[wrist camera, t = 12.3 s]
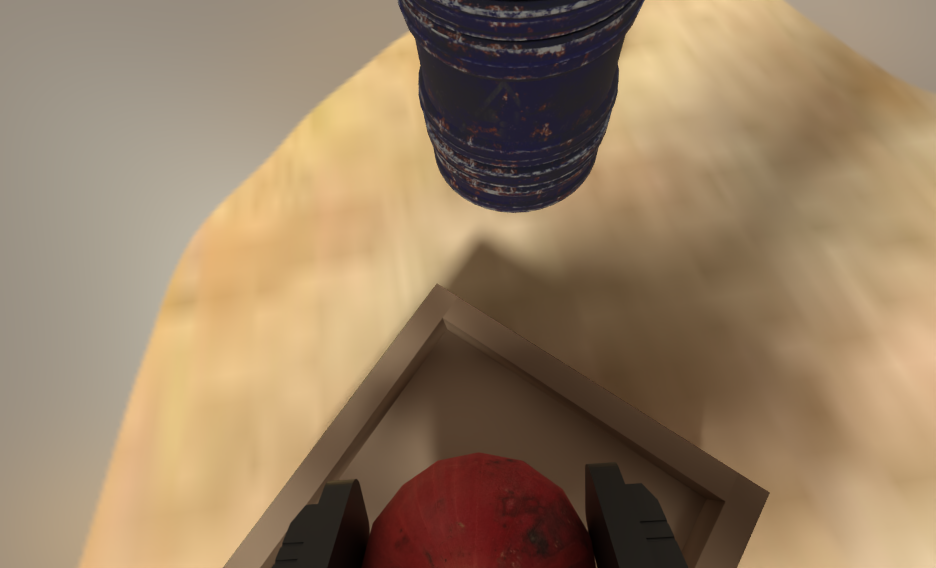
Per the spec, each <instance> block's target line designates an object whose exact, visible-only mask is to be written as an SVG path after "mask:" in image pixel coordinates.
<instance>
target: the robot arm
mask: <svg viewBox="0 0 936 568" xmlns="http://www.w3.org/2000/svg"><path fill="white" fill-rule="evenodd" d="M585 513H586V522H587V528H588V533H589V535H590V537H591V540H592V546H593V552H594V556H595V560H596V564H597V568H688V565H687V563H686V561H685V559H684V557H683V554H682V552H681V550H680V548H679V545H678V543H677V541H675V538H674V534H673V532H672V530H671V528H670V525H669V524H668V523H667V519H666V517H665V514H664V512H663V510H662V508H661V505H660V503H659V501H658V499H657V498H656V497H655V496H654V495H653V494H652V493H651V492H650V491H649V490H648V489H647V488H646V487H645V486H644V485H643V484H642V483H635V484H625V482H624V479H623V477H622V474H621V472H620V469H619V467H618V465H617V463H616V462H607V463H592V464H586V465H585ZM369 536H370V526H369V520H368V516H367V511H366V507H365V503H364V499H363V495H362V491H361V487H360V483H359V481H358V480H357V479H350V480H336V481H328V482H327V483H326V484H325V486H324V489H323V491H322V494H321V497H320V500H319V502H318V504H309V505H305V506H304V508H303V509H302V510H301V511H300V512H299V513H298V515H297V516H296V517H295V518H294V519H293V520H292V522H291V523H290V525H289V528H288V530H287V532H286V535H285V537H284V540H283V542H282V547H280V549H279V552H278V554H277V557H276V559H275V564H273V566H272V568H361V566H362V562H363V558H364V554H365V551H366V547H367V543H368V539H369Z"/></svg>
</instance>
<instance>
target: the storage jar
mask: <svg viewBox="0 0 936 568" xmlns="http://www.w3.org/2000/svg"><path fill="white" fill-rule="evenodd" d="M643 2H644V0H398V5H399V7H400V9H401V12H402V14H403V16H404V19H405V21H406V24H407V26H408V28H409V30H410V32H411V33H412V35H413V36H414V38H415V40H416V45H417V50H418V55H419V60H420V65H421V66H420V70H419V99H420V105H421V108H422V110H423V113H424V118H425V122H426V127H427V132H428V135H429V137H430V140H431V142H432V145H433V147H434V153H435V158H436V163H437V165H438V168H439V170H440V173H441V174H442V176H443V177H444V179H445V181H446V182H447V183H448V184H449V185H450V187H451V188H452V189H453V190H454V191H455V192H457V193H458V194H459V195H460V196H462V197H463V198H464V199H466V200H468V201H470V202H472V203H473V204H475V205H478V206H481V207H483V208H486V209H490V210H495V211H499V212H511V213H516V212H529V211H534V210H539V209H542V208H545V207H548V206H551V205H554V204H556V203H557V202H559V201H561V200H563V199H565V198H566V197H568V196H569V195H570V194H572V193H573V192H575V191H576V190H577V189H578V188H579V186H580V185H581V184H582V183H583V182H584V181H585V179H586V178H587V177H588V175H589V174H590V172H591V169H592V167H593V165H594V163H595V159H596V155H597V151H598V147H599V145H600V144H601V141H602V139H603V137H604V135H605V133H606V129H607V126H608V122H609V119H610V115H611V111H612V108H613V106H614V104H615V100H616V96H617V92H618V79H619V68H618V60H619V56H620V52H621V49H622V45H623V41H624V38H625V34H626V33H627V32H628V30H629V29H630V28H631V26H632V25H633V23H634V21H635V19H636V17H637V15H638V12H639V11H640V9H641V7H642V4H643Z"/></svg>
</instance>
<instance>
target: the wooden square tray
mask: <svg viewBox="0 0 936 568" xmlns="http://www.w3.org/2000/svg"><path fill="white" fill-rule="evenodd" d="M478 452H480V453H485V454H491V455H496V456H501V457H507V458H512V459H517V460H522V461H524V462H526V463H527V464H529V465H530V466H531V467H533V468H534V469H535V470H537V471H538V472H540V473H541V474H542V475H544V476H545V477H547V478H548V479H549V480H551V481H552V482H553V483H555V484H556V485H558V486H559V487H560V488H562V489H563V490H564V492H565V494H566V495H567V497H568V499H569V500H570V502H571V504H572V505H573V507H574V509H575V510H576V512H577V514H578V516H579V517H580V519H581V521H582V522H583V524H584V526H585V527H586V529H587V531H588V528H587V522H586V513H585V465H586V464H592V463H607V462H616V463H617V465H618V467H619V469H620V472H621V474H622V477H623V479H624V482H625V484H635V483H642V484H643V485H644V486H645V487H646V488H647V489H648V490H649V491H650V492H651V493H652V494H653V495H654V496H655V497H656V498H657V499H658V501H659V503H660V505H661V508H662V510H663V512H664V514H665V517H666V519H667V523H668V524H669V525H670V528H671V530H672V532H673V534H674V538H675V541H677V543H678V545H679V548H680V550H681V552H682V554H683V557H684V559H685V561H686V563H687V565H688V568H737V566H738V564H739V562H740V559H741V557H742V555H743V553H744V550H745V548H746V546H747V543H748V541H749V539H750V537H751V534H752V532H753V530H754V527H755V525H756V523H757V521H758V518H759V516H760V514H761V512H762V509H763V507H764V505H765V502H766V500H767V498H768V496H769V492H768V491H766V490H765V489H763V488H761V487H760V486H758V485H757V484H755V483H753V482H752V481H750V480H749V479H747V478H746V477H744V476H742V475H741V474H739V473H738V472H736V471H734V470H733V469H731V468H730V467H728V466H726V465H725V464H723V463H722V462H720V461H718V460H717V459H715V458H714V457H712V456H711V455H709V454H707V453H706V452H704V451H703V450H701V449H699V448H698V447H696V446H695V445H693V444H691V443H690V442H688V441H687V440H685V439H683V438H682V437H680V436H679V435H677V434H676V433H674V432H672V431H671V430H669V429H668V428H666V427H664V426H663V425H661V424H660V423H658V422H656V421H655V420H653V419H652V418H650V417H648V416H647V415H645V414H644V413H642V412H641V411H639V410H637V409H636V408H634V407H633V406H631V405H629V404H628V403H626V402H625V401H623V400H621V399H620V398H618V397H617V396H615V395H613V394H612V393H610V392H609V391H607V390H606V389H604V388H602V387H601V386H599V385H598V384H596V383H594V382H593V381H591V380H590V379H588V378H586V377H585V376H583V375H582V374H580V373H578V372H577V371H575V370H574V369H572V368H571V367H569V366H567V365H566V364H564V363H563V362H561V361H559V360H558V359H556V358H555V357H553V356H551V355H550V354H548V353H547V352H545V351H543V350H542V349H540V348H539V347H537V346H536V345H534V344H532V343H531V342H529V341H528V340H526V339H524V338H523V337H521V336H520V335H518V334H516V333H515V332H513V331H512V330H510V329H508V328H507V327H505V326H504V325H502V324H501V323H499V322H497V321H496V320H494V319H493V318H491V317H489V316H488V315H486V314H485V313H483V312H481V311H480V310H478V309H477V308H475V307H473V306H472V305H470V304H469V303H467V302H466V301H464V300H462V299H461V298H459V297H458V296H456V295H454V294H453V293H451V292H450V291H448V290H446V289H445V288H443V287H442V286H440V285H438V284H436V285H435V287H434V288H433V289H432V291H431V292H430V293H429V295H428V296H427V297H426V299H425V300H424V301H423V303H422V304H421V305H420V307H419V308H418V309H417V311H416V312H415V313H414V315H413V316H412V317H411V319H410V320H409V321H408V323H407V324H406V325H405V327H404V328H403V329H402V331H401V332H400V333H399V334H398V336H397V337H396V338H395V340H394V341H393V342H392V344H391V345H390V346H389V348H388V349H387V350H386V352H385V353H384V354H383V356H382V357H381V358H380V360H379V361H378V362H377V364H376V365H375V366H374V368H373V369H372V370H371V372H370V373H369V374H368V376H367V377H366V378H365V380H364V381H363V382H362V384H361V385H360V386H359V388H358V389H357V390H356V392H355V393H354V394H353V396H352V397H351V398H350V400H349V401H348V402H347V404H346V405H345V406H344V408H343V409H342V410H341V412H340V413H339V414H338V416H337V417H336V418H335V420H334V421H333V422H332V424H331V425H330V426H329V427H328V429H327V430H326V431H325V433H324V434H323V435H322V437H321V438H320V439H319V441H318V442H317V443H316V445H315V446H314V447H313V449H312V450H311V451H310V453H309V454H308V455H307V457H306V458H305V459H304V461H303V462H302V463H301V465H300V466H299V467H298V469H297V470H296V471H295V473H294V474H293V475H292V477H291V478H290V479H289V481H288V482H287V483H286V485H285V486H284V487H283V489H282V490H281V491H280V493H279V494H278V495H277V497H276V498H275V499H274V501H273V502H272V503H271V505H270V506H269V507H268V509H267V510H266V511H265V513H264V514H263V515H262V517H261V518H260V519H259V521H258V522H257V523H256V524H255V526H254V527H253V528H252V530H251V531H250V532H249V534H248V535H247V536H246V538H245V539H244V540H243V542H242V543H241V544H240V546H239V547H238V548H237V550H236V551H235V552H234V554H233V555H232V556H231V558H230V559H229V560H228V562H227V563H226V564H225V566H224V567H223V568H272V566H273V564H275V559H276V557H277V554H278V552H279V549H280V547H282V542H283V540H284V537H285V535H286V532H287V530H288V528H289V525H290V523H291V522H292V520H293V519H294V518H295V517H296V516H297V515H298V513H299V512H300V511H301V510H302V509H303V508H304V506H305V505H309V504H318V502H319V500H320V497H321V494H322V491H323V489H324V486H325V484H326V483H327V482H328V481H336V480H350V479H357V480H358V481H359V483H360V487H361V491H362V495H363V499H364V503H365V507H366V511H367V516H368V520H369V526H370V532H371V528H372V524H373V522H374V521H375V520H376V518H377V517H378V516H379V514H380V513H381V512H382V511H383V509H384V508H385V507H386V505H387V504H388V503H389V502H390V500H391V499H392V498H393V497H394V495H395V494H396V493H397V491H398V490H399V489H400V488H401V486H402V485H403V484H405V483H406V482H408V481H409V480H411V479H412V478H413V477H415V476H416V475H418V474H419V473H421V472H422V471H424V470H425V469H426V468H428V467H429V466H431V465H432V464H434V463H435V462H436V461H438V460H443V459H448V458H453V457H458V456H463V455H468V454H473V453H478ZM594 557H595V556H594ZM595 563H596V560H595ZM596 568H597V564H596Z"/></svg>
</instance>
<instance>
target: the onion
mask: <svg viewBox="0 0 936 568" xmlns="http://www.w3.org/2000/svg"><path fill="white" fill-rule="evenodd" d="M361 568H596V563H595V557H594V552H593V546H592V540H591V537H590V535H589V533H588V531H587V529H586V527H585V526H584V524H583V522H582V521H581V519H580V517H579V516H578V514H577V512H576V510H575V509H574V507H573V505H572V504H571V502H570V500H569V499H568V497H567V495H566V494H565V492H564V490H563V489H562V488H560V487H559V486H558V485H556V484H555V483H553V482H552V481H551V480H549V479H548V478H547V477H545V476H544V475H542V474H541V473H540V472H538V471H537V470H535V469H534V468H533V467H531V466H530V465H529V464H527V463H526V462H524V461H522V460H517V459H512V458H507V457H501V456H496V455H491V454H485V453H480V452H478V453H473V454H468V455H463V456H458V457H453V458H448V459H443V460H438V461H436V462H435V463H434V464H432V465H431V466H429V467H428V468H426V469H425V470H424V471H422V472H421V473H419V474H418V475H416V476H415V477H413V478H412V479H411V480H409V481H408V482H406V483H405V484H403V485H402V486H401V488H400V489H399V490H398V491H397V493H396V494H395V495H394V497H393V498H392V499H391V500H390V502H389V503H388V504H387V505H386V507H385V508H384V509H383V511H382V512H381V513H380V514H379V516H378V517H377V518H376V520H375V521H374V522H373V524H372V528H371V532H370V536H369V539H368V543H367V547H366V551H365V554H364V558H363V562H362V566H361Z"/></svg>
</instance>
